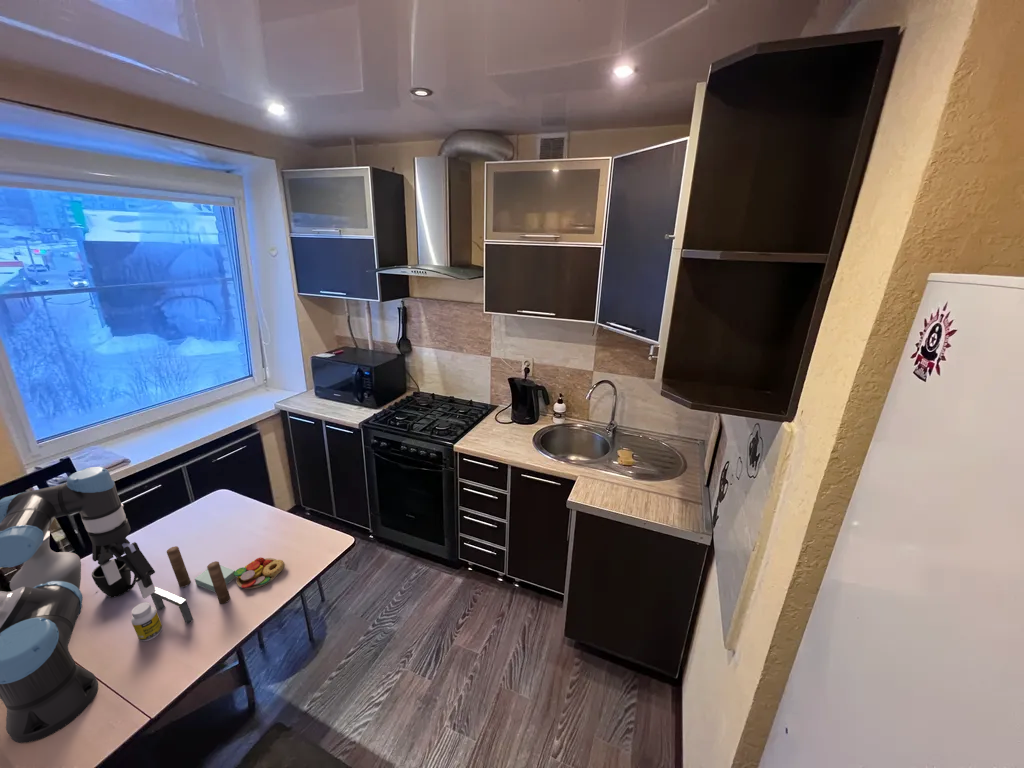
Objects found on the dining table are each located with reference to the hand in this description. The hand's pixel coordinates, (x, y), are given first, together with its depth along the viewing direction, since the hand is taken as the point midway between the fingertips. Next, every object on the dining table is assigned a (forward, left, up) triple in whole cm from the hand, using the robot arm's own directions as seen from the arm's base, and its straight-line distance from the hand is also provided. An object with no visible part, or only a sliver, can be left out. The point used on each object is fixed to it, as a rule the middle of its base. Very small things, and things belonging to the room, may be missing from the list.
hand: (132, 587), depth 115 cm
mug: (+7, +23, -17) cm, 29 cm away
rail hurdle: (+6, -1, -17) cm, 18 cm away
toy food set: (+26, -12, -17) cm, 33 cm away
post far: (+15, +8, -17) cm, 24 cm away
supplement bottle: (0, -1, -17) cm, 17 cm away
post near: (+15, -10, -17) cm, 24 cm away
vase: (-3, +35, -17) cm, 39 cm away
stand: (+20, 0, -17) cm, 26 cm away
